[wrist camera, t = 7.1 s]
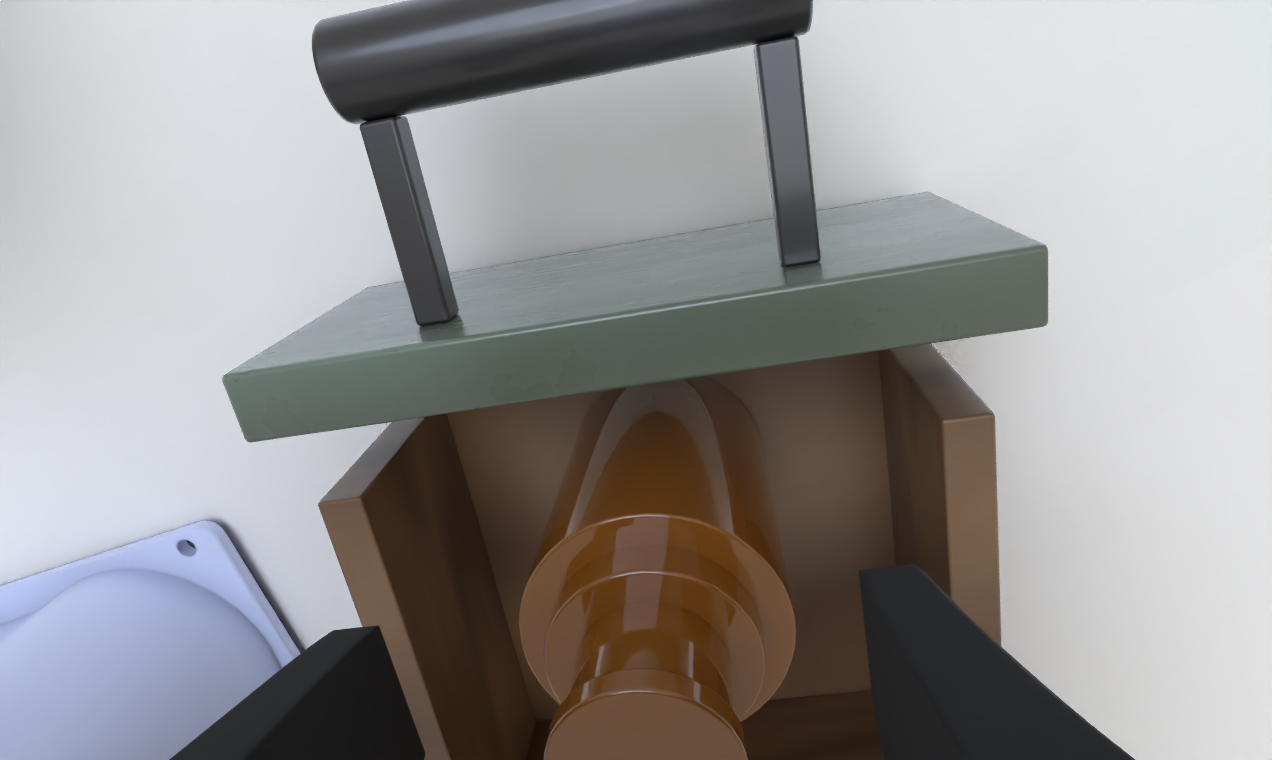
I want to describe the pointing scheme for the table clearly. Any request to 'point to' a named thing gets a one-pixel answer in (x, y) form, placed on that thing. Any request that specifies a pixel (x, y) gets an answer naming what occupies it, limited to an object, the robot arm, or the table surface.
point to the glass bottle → (660, 580)
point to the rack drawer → (639, 372)
